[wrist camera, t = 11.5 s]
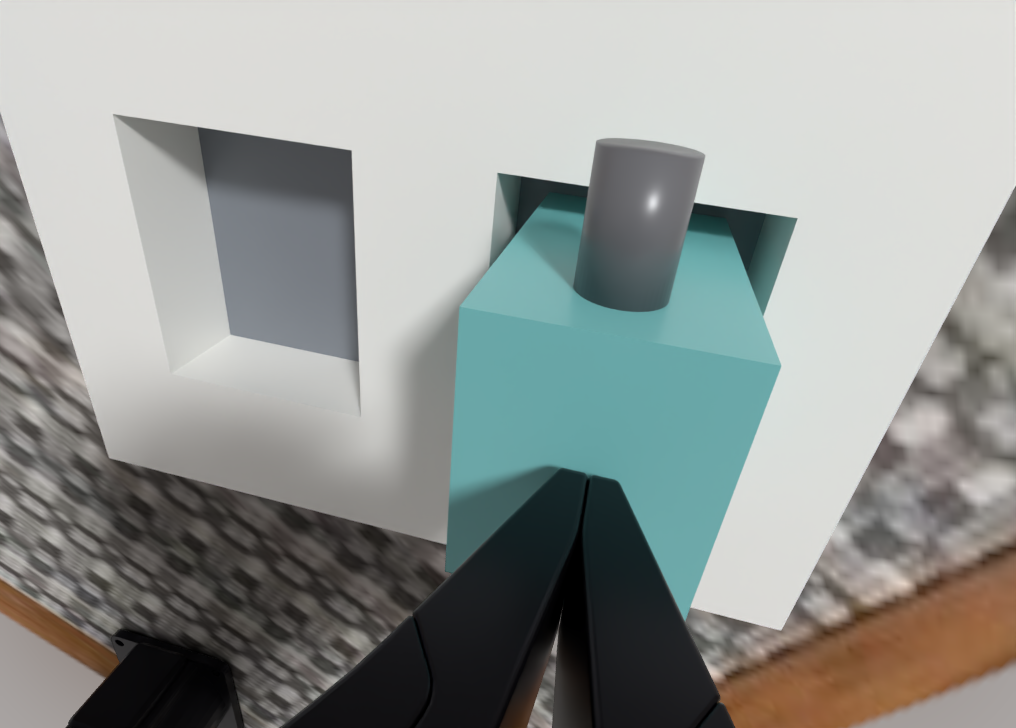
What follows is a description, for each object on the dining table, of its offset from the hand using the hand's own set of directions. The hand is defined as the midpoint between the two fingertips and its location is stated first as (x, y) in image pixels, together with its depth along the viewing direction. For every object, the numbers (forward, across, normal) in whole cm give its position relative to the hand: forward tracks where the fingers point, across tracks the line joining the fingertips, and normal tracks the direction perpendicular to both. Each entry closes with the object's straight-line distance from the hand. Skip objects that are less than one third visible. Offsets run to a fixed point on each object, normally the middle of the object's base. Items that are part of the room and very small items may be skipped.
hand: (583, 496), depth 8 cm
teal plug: (+7, 0, -1) cm, 7 cm away
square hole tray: (+8, +4, 0) cm, 9 cm away
